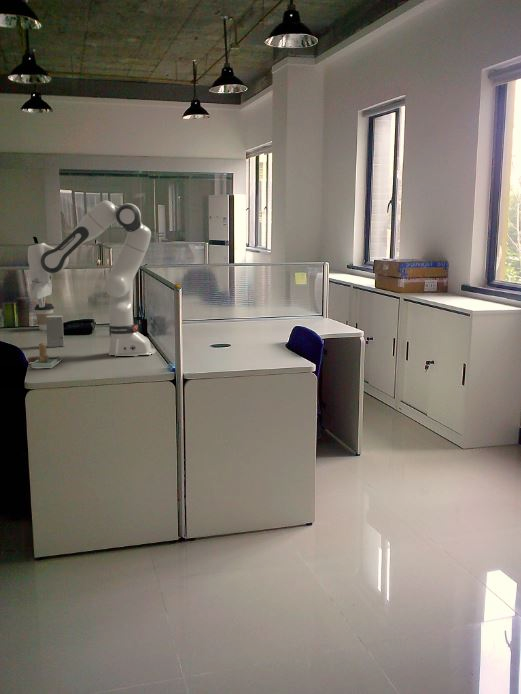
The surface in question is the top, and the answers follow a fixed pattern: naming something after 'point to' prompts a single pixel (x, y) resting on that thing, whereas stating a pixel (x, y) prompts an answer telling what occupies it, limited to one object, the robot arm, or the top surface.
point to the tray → (48, 364)
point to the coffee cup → (43, 315)
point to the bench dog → (33, 358)
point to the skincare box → (54, 331)
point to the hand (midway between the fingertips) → (42, 307)
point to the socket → (54, 358)
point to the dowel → (43, 353)
